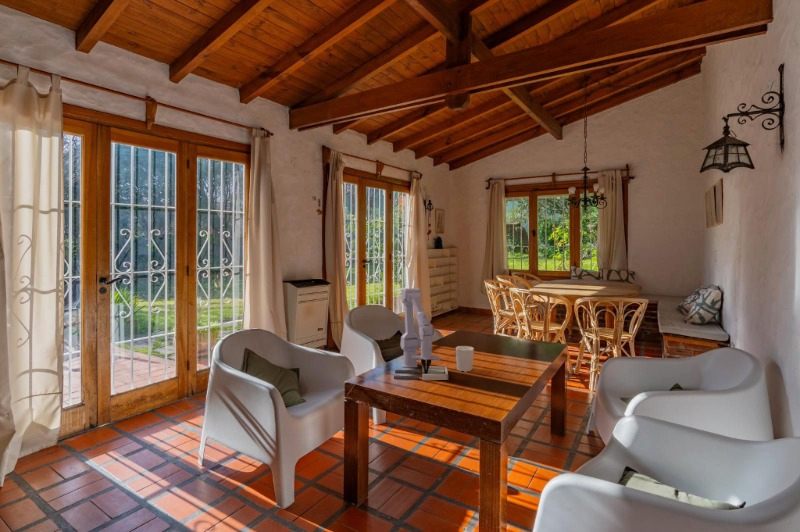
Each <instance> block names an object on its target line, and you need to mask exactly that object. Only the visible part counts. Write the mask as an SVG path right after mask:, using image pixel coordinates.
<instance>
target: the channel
mask: <svg viewBox="0 0 800 532" xmlns="http://www.w3.org/2000/svg"><path fill="white" fill-rule="evenodd" d="M420 372H421V371H420V369H395V370H394V373H395V374H420ZM393 379H394V380H412V379H419V380H420V376H419V375H393Z"/></svg>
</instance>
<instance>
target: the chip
mask: <svg viewBox="0 0 800 532" xmlns="http://www.w3.org/2000/svg"><path fill="white" fill-rule="evenodd" d="M436 374H445V373H444V370H436Z"/></svg>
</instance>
